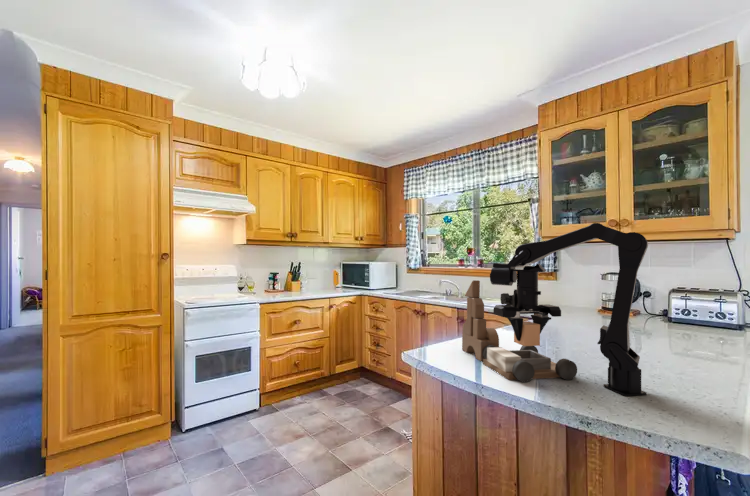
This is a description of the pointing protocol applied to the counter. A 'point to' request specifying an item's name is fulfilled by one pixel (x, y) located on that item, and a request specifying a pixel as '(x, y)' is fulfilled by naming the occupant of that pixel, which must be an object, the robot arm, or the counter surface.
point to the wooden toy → (477, 324)
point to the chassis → (526, 364)
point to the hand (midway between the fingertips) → (526, 340)
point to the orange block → (529, 334)
